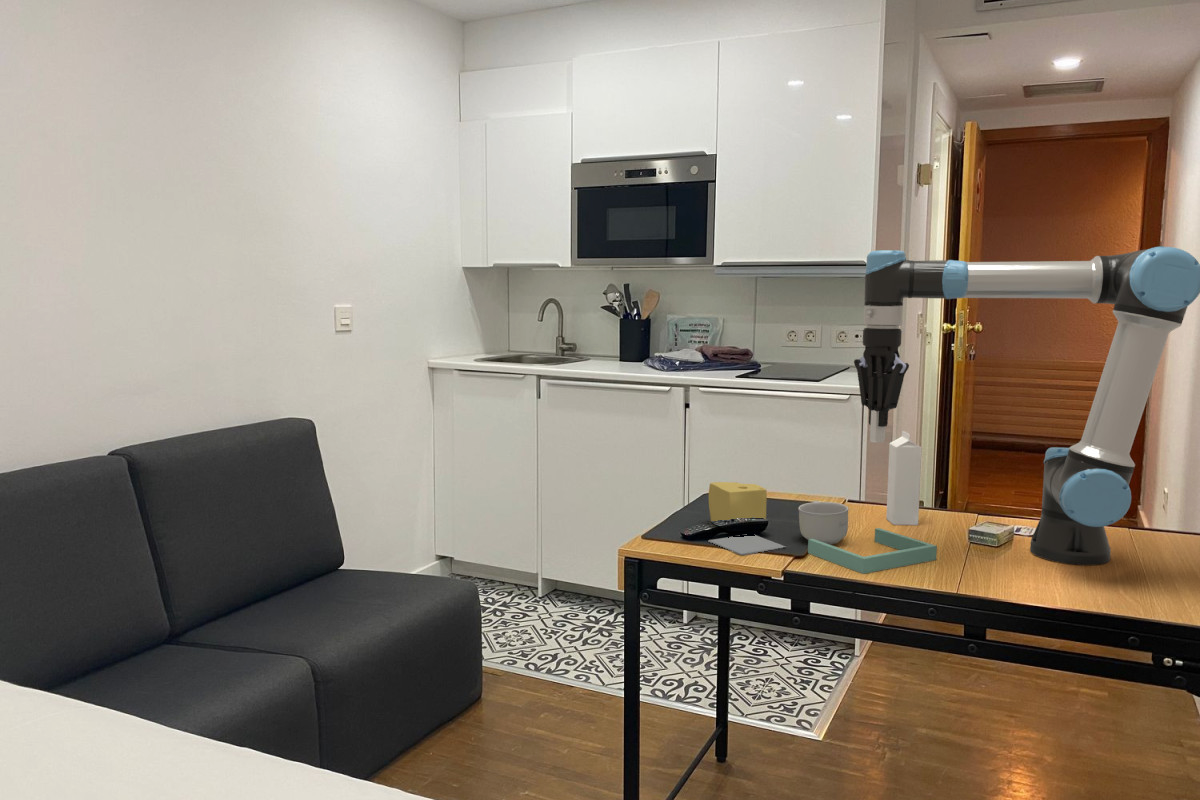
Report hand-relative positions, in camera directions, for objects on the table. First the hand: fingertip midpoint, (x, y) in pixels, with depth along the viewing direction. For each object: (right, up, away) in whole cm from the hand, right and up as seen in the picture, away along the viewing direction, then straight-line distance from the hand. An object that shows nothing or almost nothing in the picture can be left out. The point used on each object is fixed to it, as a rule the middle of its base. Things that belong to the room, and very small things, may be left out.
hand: (877, 441), depth 190 cm
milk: (+16, -21, +32) cm, 42 cm away
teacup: (-7, -23, +17) cm, 29 cm away
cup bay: (-1, -24, +4) cm, 25 cm away
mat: (-25, -23, +12) cm, 36 cm away
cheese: (-25, -22, +28) cm, 43 cm away
